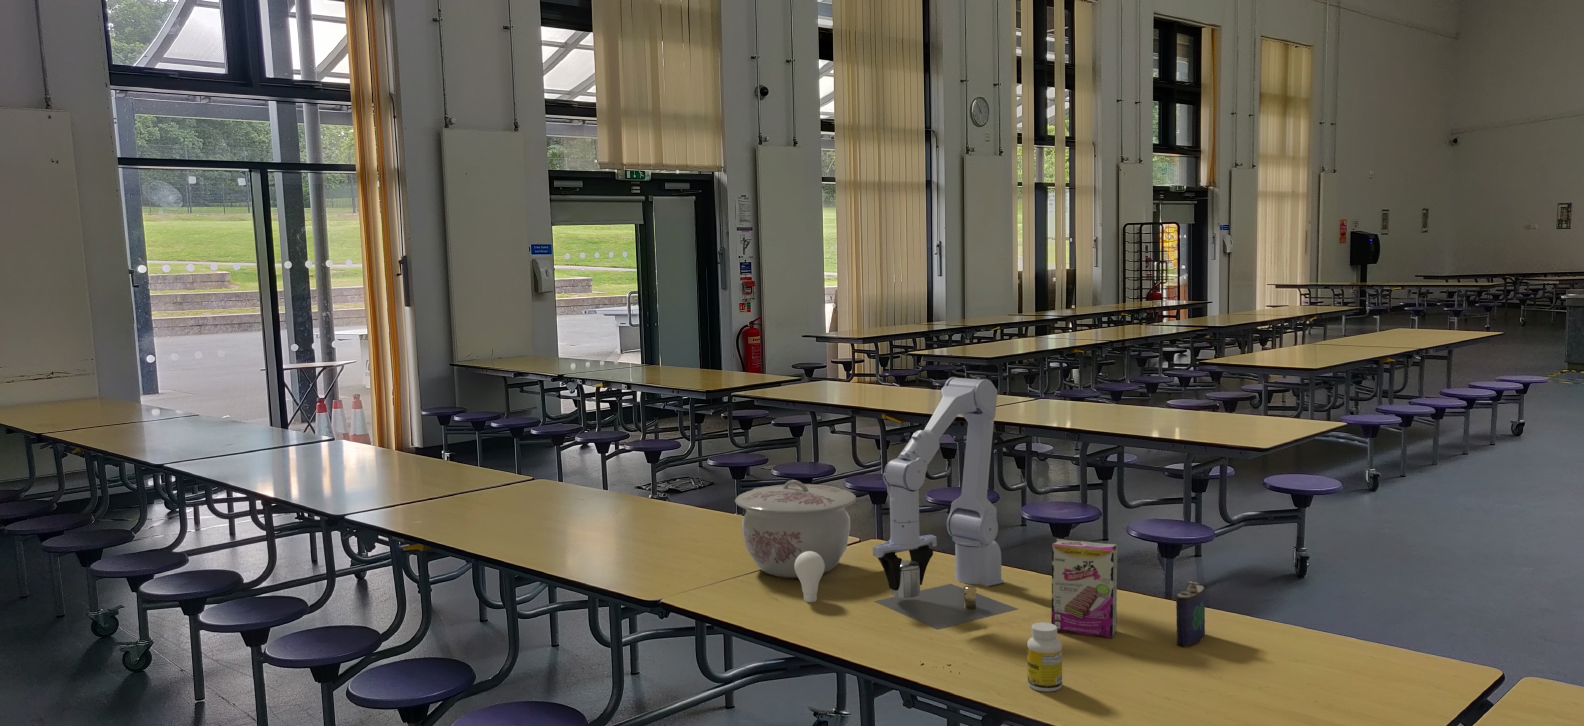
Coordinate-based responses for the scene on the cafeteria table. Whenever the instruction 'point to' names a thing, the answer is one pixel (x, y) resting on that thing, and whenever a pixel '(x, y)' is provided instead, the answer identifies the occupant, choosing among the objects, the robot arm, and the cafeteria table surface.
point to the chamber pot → (795, 524)
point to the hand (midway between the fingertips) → (905, 586)
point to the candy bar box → (1084, 587)
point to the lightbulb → (809, 573)
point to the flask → (1190, 615)
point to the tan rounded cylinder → (969, 597)
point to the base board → (944, 606)
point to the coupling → (908, 580)
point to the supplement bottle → (1044, 658)
